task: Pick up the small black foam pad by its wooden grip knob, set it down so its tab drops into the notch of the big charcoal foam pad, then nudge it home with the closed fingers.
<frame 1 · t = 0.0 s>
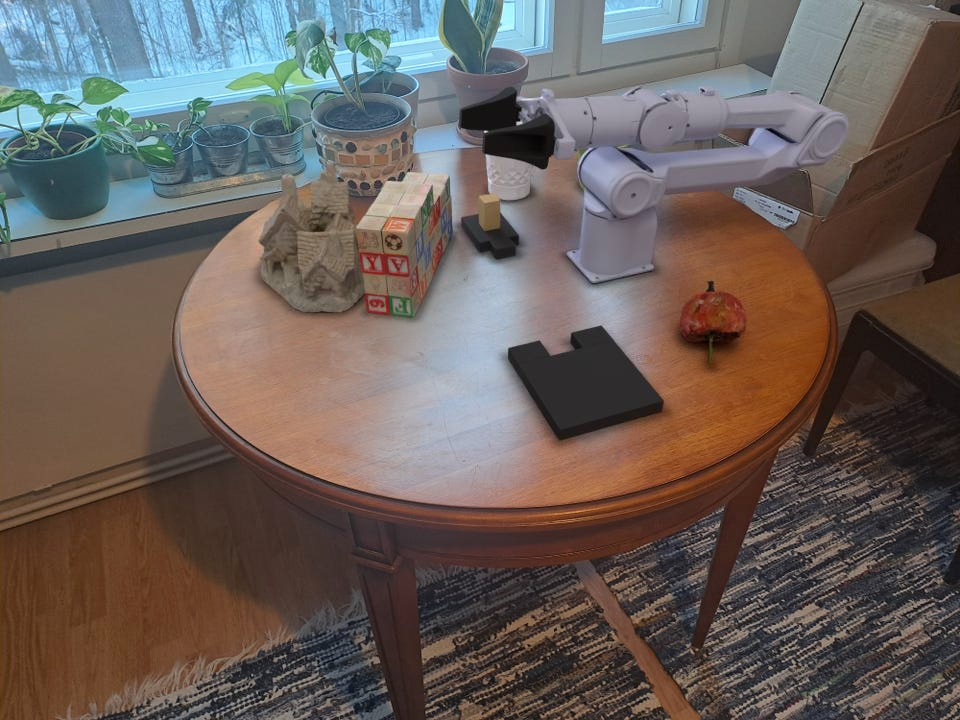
hand: (471, 130, 78), 22 cm above the table, tool horizontal, fingers open, 7 cm apart
white cup: (509, 192, 114), on the table
ceramic cottage: (314, 279, 95), on the table
small pad: (489, 235, 103), on the table
pomegranate: (706, 345, 84), on the table
plant pot: (598, 188, 115), on the table
stack of blocks: (413, 271, 97), on the table
big pad: (581, 383, 78), on the table
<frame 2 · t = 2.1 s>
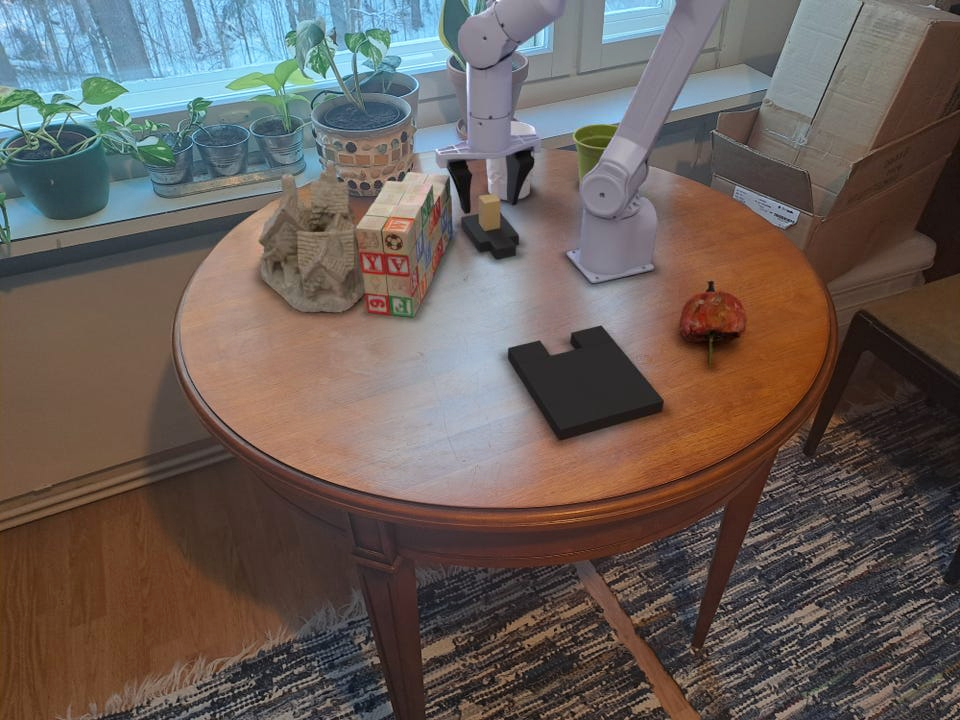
hand: (488, 206, 100), 5 cm above the table, tool pointing down, fingers open, 6 cm apart
stack of blocks: (413, 271, 97), on the table, touching gripper
everything else where it was.
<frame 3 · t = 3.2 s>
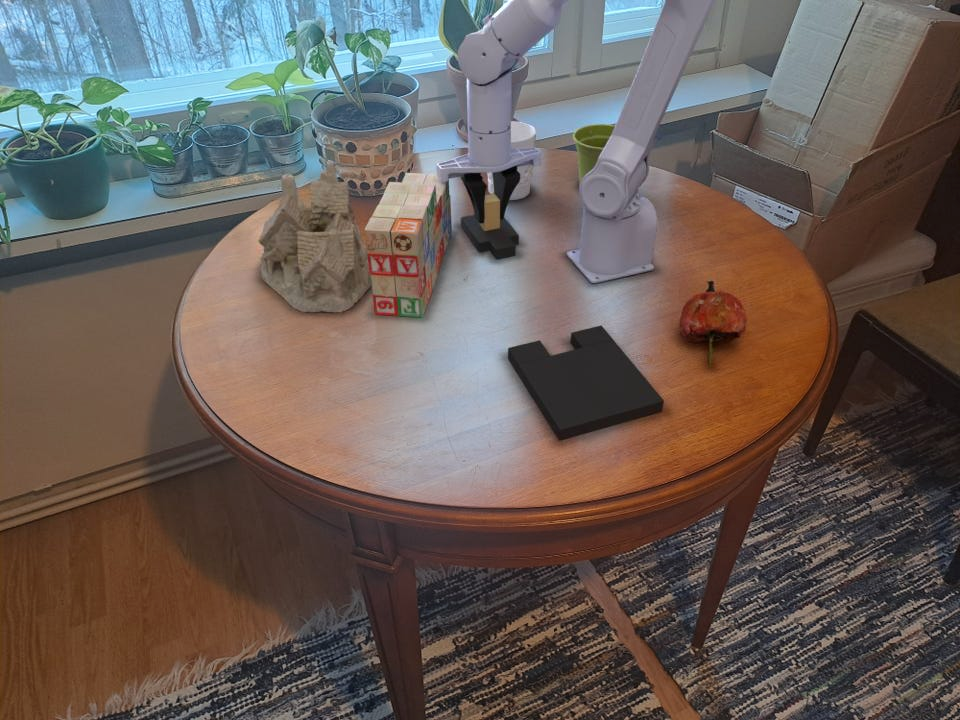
hand: (489, 218, 102), 3 cm above the table, tool pointing down, fingers closed on small pad, 2 cm apart
small pad: (489, 235, 103), on the table, touching gripper
stack of blocks: (416, 272, 96), on the table
everything else where it was.
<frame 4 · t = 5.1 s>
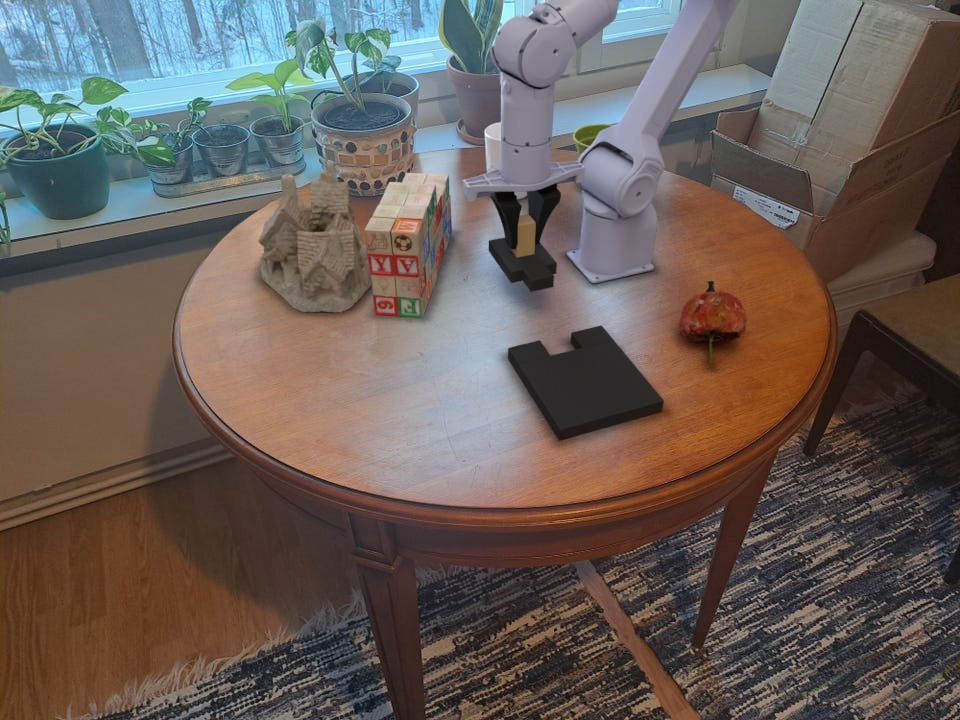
hand: (522, 243, 87), 7 cm above the table, tool pointing down, fingers closed on small pad, 2 cm apart
small pad: (521, 262, 89), point 5 cm above the table, touching gripper
everything else where it was.
when the fingers open (3 cm above the table, at t = 7.1 s): small pad stays where it is, on the table.
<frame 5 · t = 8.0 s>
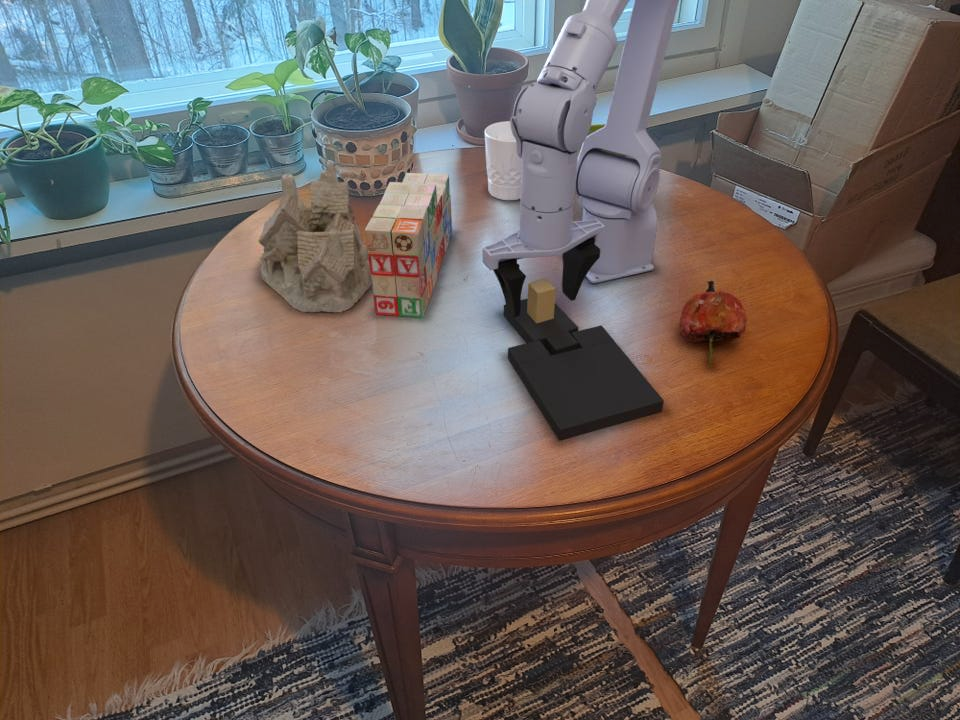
hand: (541, 303, 84), 3 cm above the table, tool pointing down, fingers open, 7 cm apart
small pad: (539, 326, 87), on the table
everything else where it was.
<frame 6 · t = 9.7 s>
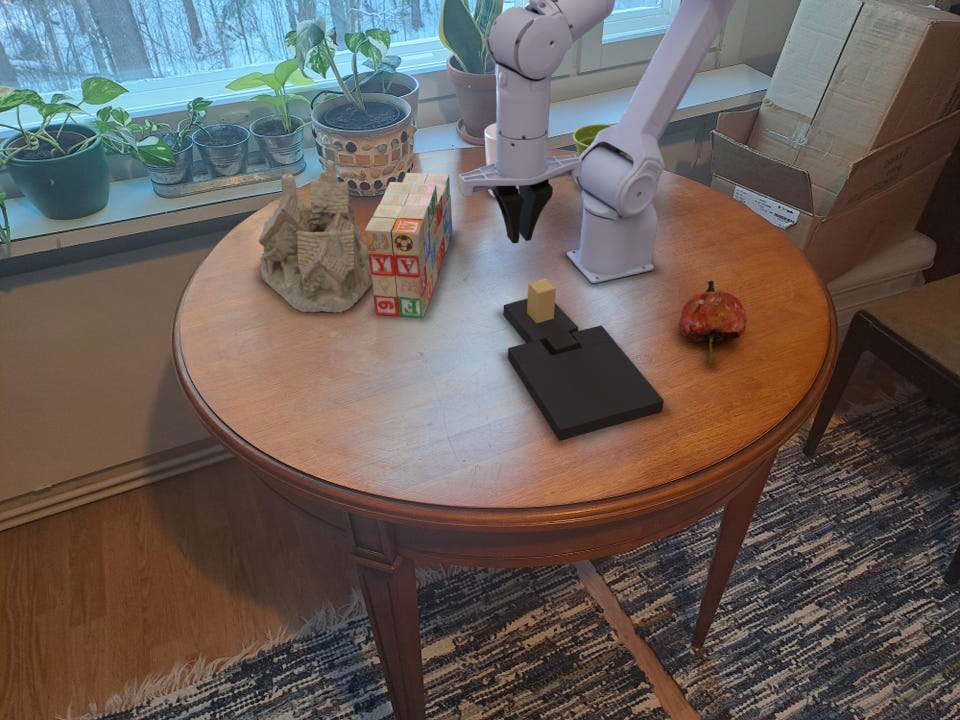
hand: (519, 238, 86), 8 cm above the table, tool pointing down, fingers closed
nothing on the table moved.
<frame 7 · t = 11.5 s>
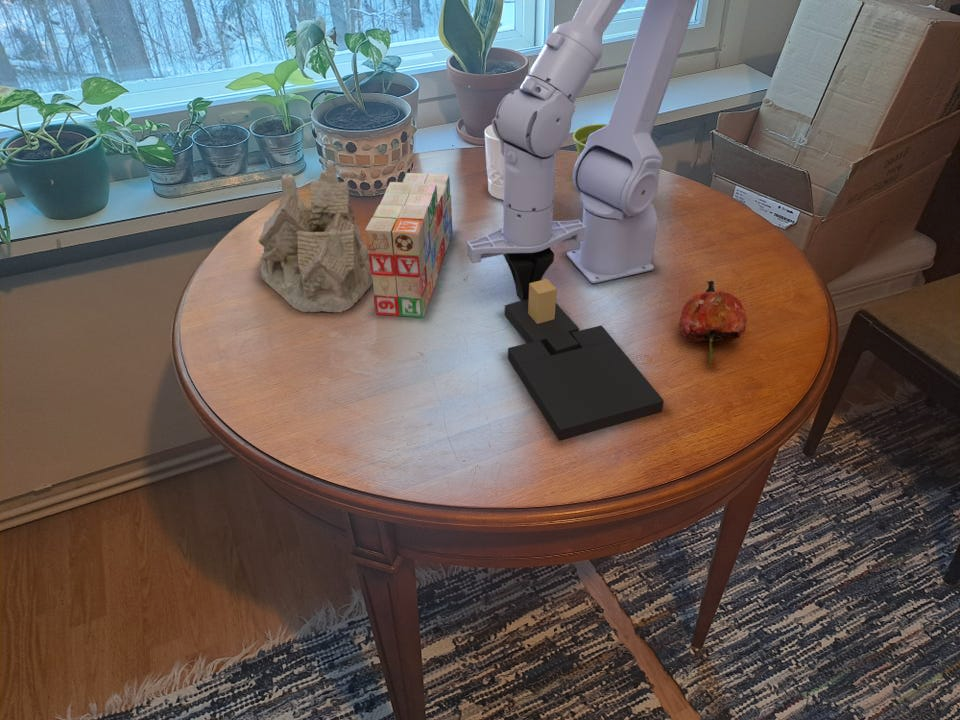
hand: (524, 297, 90), 1 cm above the table, tool pointing down, fingers closed, pressing on small pad
small pad: (540, 326, 87), on the table, touching big pad, gripper
everything else where it was.
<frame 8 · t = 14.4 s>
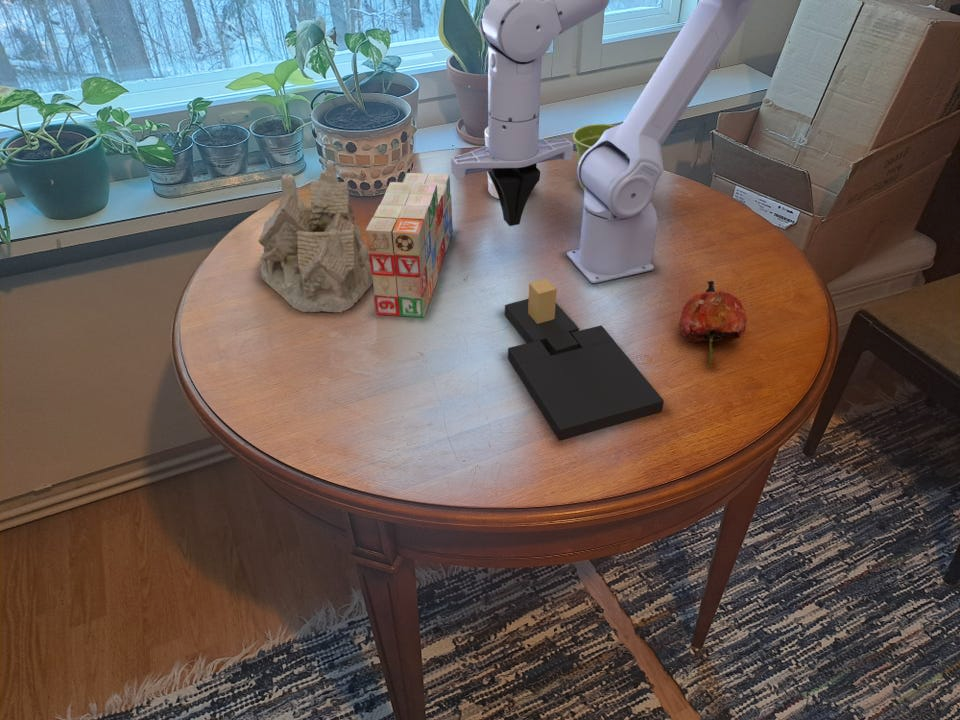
hand: (511, 221, 88), 9 cm above the table, tool pointing down, fingers closed
small pad: (540, 326, 87), on the table, touching big pad
everything else where it was.
at the end: small pad 0.2 cm from the target spot on the table beside the big pad, on the table; small pad tilted 0°; the gripper is holding nothing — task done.
